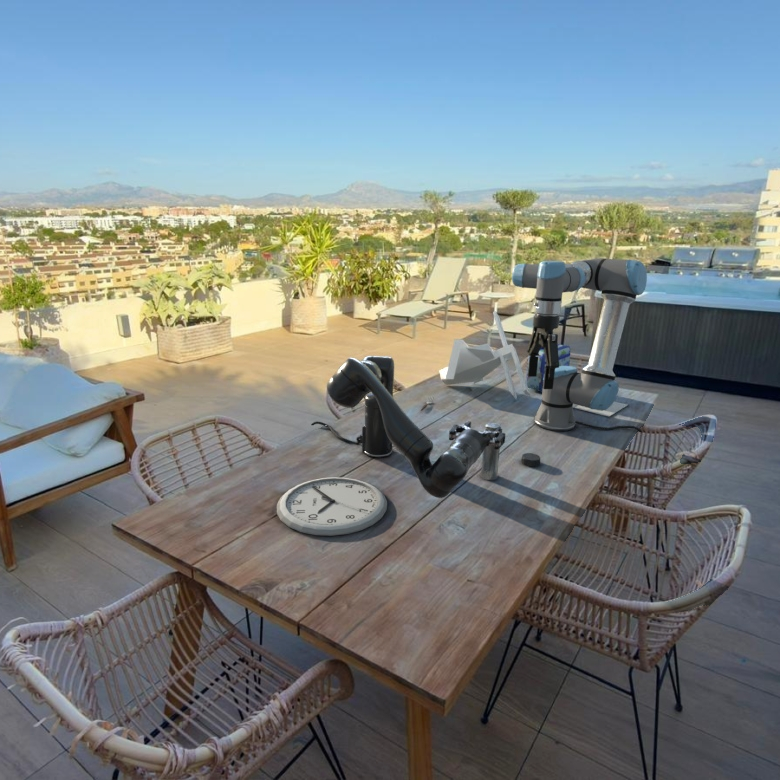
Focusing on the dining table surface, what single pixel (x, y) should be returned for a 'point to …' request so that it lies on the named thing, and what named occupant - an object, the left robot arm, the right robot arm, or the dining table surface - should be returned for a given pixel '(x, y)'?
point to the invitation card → (608, 412)
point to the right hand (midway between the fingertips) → (539, 382)
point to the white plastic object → (482, 362)
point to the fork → (427, 403)
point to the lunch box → (537, 381)
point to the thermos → (490, 457)
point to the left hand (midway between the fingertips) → (484, 427)
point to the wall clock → (331, 506)
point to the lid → (530, 460)
